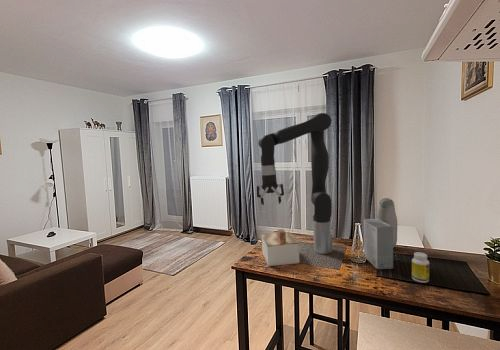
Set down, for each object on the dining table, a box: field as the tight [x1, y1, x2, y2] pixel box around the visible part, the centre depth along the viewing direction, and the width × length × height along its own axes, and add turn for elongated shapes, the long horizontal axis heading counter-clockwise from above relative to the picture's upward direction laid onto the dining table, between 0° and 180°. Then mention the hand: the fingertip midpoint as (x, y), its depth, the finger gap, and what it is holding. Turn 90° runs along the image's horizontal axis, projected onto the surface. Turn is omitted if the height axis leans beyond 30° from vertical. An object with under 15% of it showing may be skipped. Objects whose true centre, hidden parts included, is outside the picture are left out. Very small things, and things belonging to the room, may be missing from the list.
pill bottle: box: [411, 251, 430, 284], centre depth 109 cm, size 6×6×11 cm
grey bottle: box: [376, 197, 398, 249], centre depth 143 cm, size 10×10×28 cm
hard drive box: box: [363, 218, 394, 270], centre depth 127 cm, size 16×8×20 cm, turn 179°
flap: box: [261, 228, 300, 247], centre depth 138 cm, size 16×18×6 cm
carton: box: [261, 236, 300, 267], centre depth 139 cm, size 16×18×10 cm
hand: (271, 204), depth 138 cm, fingers open, 8 cm apart
